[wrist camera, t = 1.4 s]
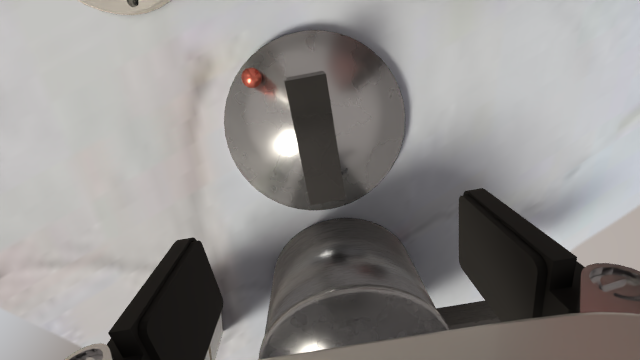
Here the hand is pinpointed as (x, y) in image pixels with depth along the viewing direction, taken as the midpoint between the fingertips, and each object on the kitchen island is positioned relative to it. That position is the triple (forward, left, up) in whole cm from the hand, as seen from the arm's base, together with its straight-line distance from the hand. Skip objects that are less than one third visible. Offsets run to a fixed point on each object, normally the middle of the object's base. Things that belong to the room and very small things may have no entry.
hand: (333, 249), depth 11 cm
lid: (0, 0, -20) cm, 20 cm away
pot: (+18, +4, -19) cm, 26 cm away
